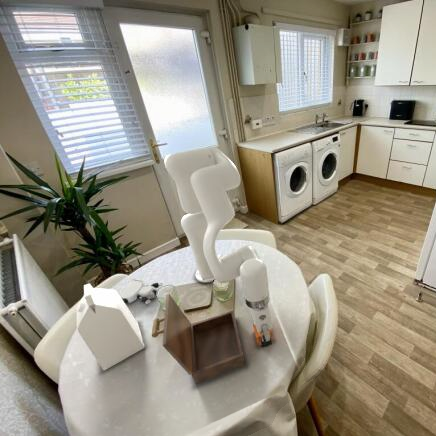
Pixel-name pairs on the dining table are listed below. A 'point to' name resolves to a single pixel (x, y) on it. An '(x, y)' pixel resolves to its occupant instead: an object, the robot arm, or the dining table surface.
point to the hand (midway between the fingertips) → (262, 332)
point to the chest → (215, 347)
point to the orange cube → (260, 335)
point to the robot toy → (138, 291)
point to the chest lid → (175, 334)
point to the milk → (107, 326)
